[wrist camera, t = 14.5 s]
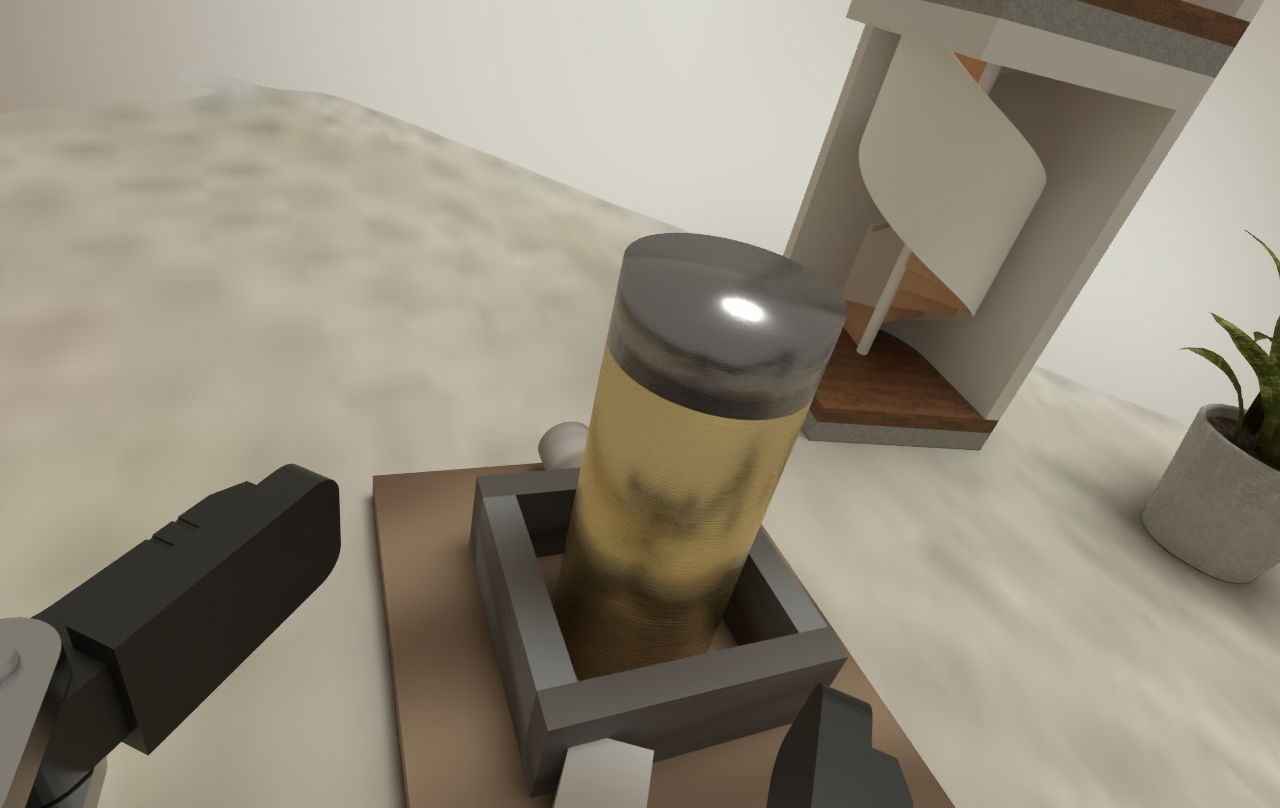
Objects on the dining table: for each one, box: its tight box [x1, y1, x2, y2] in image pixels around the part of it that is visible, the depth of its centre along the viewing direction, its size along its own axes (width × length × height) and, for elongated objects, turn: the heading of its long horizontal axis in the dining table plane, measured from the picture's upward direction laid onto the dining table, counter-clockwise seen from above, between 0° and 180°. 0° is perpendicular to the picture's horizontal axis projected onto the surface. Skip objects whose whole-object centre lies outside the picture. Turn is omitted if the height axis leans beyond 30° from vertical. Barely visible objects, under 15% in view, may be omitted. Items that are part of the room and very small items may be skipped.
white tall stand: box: [783, 0, 1264, 450], centre depth 31 cm, size 11×11×35 cm
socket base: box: [373, 422, 955, 808], centre depth 21 cm, size 16×14×4 cm
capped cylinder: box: [553, 233, 848, 681], centre depth 18 cm, size 5×5×12 cm
